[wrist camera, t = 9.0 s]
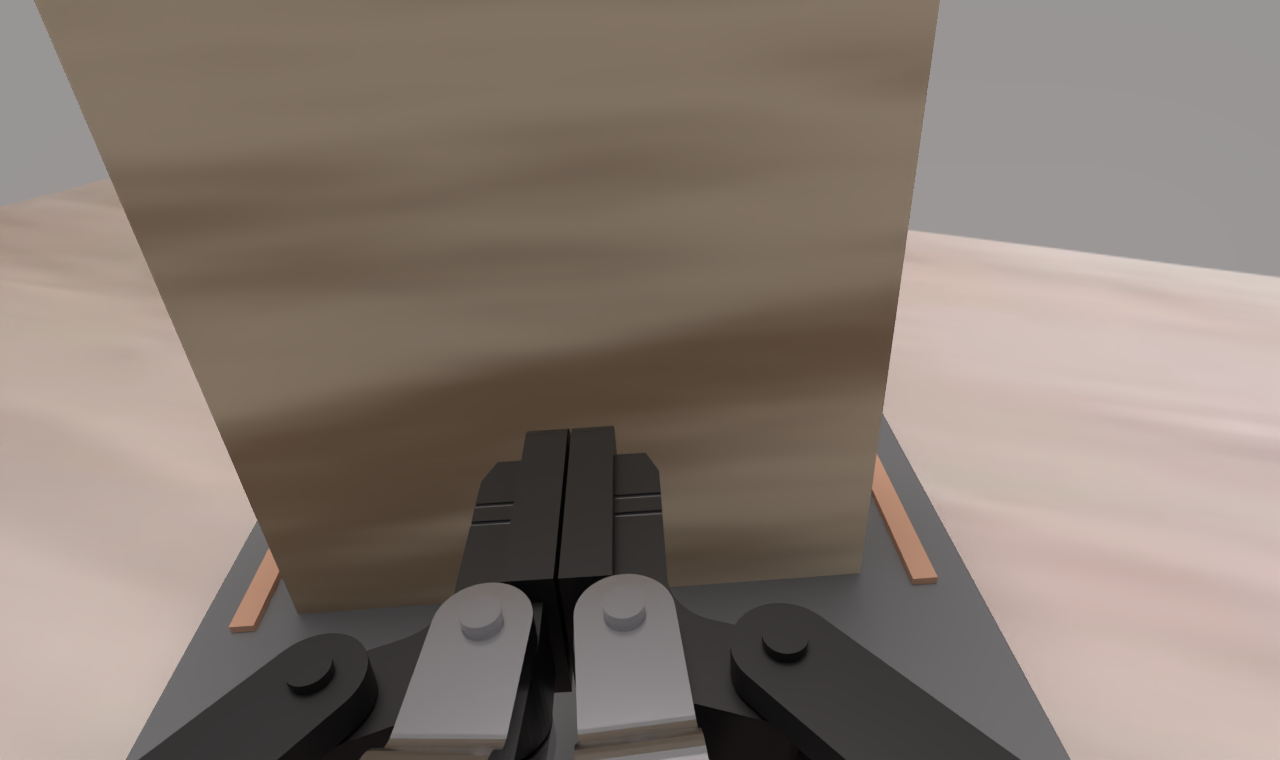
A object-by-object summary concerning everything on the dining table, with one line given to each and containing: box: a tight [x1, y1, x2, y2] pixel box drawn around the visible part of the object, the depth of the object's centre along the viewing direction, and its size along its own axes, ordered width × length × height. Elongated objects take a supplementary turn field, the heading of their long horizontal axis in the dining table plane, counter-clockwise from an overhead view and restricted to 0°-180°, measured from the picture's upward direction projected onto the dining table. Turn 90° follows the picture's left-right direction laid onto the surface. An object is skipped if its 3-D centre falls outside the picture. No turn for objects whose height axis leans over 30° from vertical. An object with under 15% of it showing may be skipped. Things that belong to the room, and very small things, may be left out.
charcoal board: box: [126, 413, 1070, 760], centre depth 21 cm, size 24×19×1 cm
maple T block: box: [34, 0, 940, 614], centre depth 20 cm, size 12×14×14 cm
